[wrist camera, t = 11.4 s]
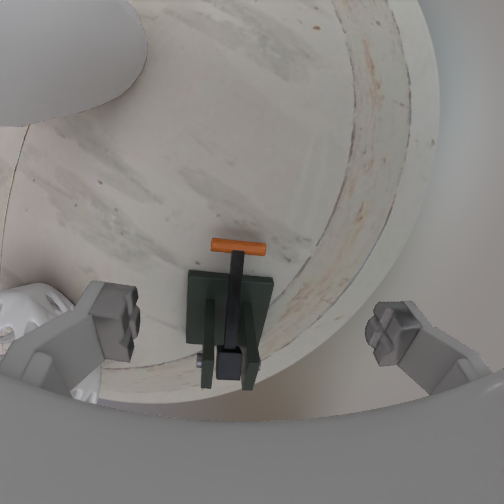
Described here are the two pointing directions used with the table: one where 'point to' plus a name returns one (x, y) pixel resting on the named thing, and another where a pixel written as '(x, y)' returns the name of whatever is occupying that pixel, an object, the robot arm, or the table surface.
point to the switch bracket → (214, 315)
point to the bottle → (66, 56)
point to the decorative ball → (36, 314)
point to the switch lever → (233, 305)
